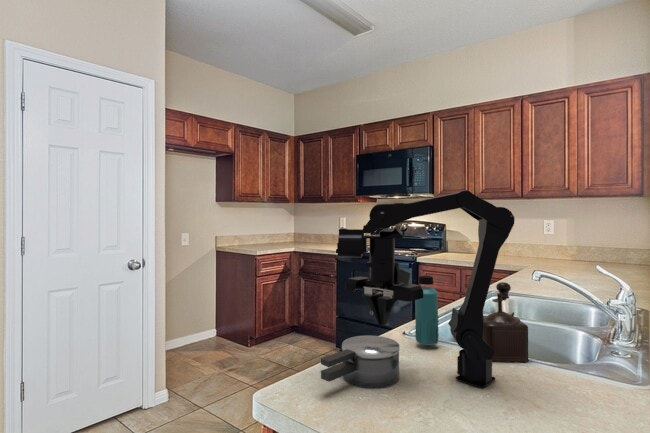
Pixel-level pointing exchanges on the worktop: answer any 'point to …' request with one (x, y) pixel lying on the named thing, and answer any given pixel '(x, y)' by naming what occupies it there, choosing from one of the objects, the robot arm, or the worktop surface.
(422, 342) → the beverage bottle
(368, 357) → the lid
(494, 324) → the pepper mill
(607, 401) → the worktop surface
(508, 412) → the worktop surface
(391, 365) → the pot
